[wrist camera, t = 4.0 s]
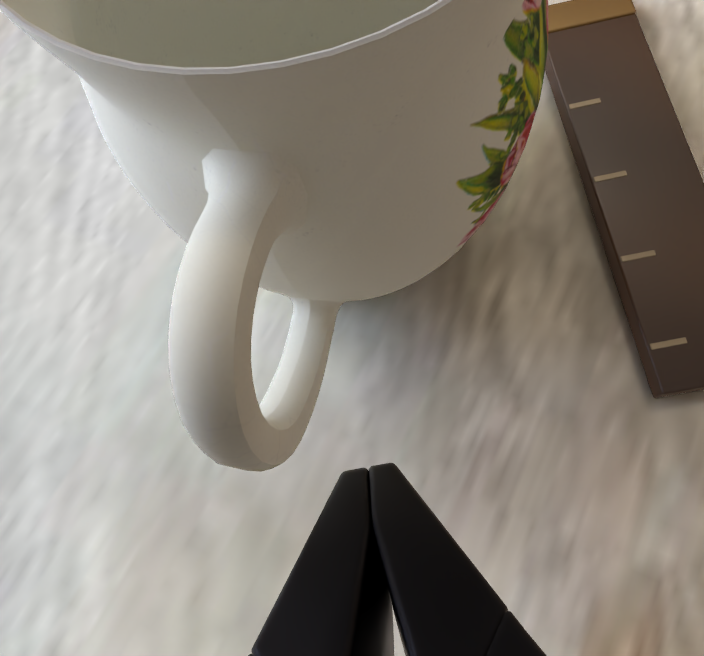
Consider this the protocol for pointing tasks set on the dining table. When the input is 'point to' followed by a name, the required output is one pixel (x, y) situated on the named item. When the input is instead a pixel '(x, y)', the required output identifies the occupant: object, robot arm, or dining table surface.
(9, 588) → the dining table surface
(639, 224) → the ruler
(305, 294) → the pitcher
